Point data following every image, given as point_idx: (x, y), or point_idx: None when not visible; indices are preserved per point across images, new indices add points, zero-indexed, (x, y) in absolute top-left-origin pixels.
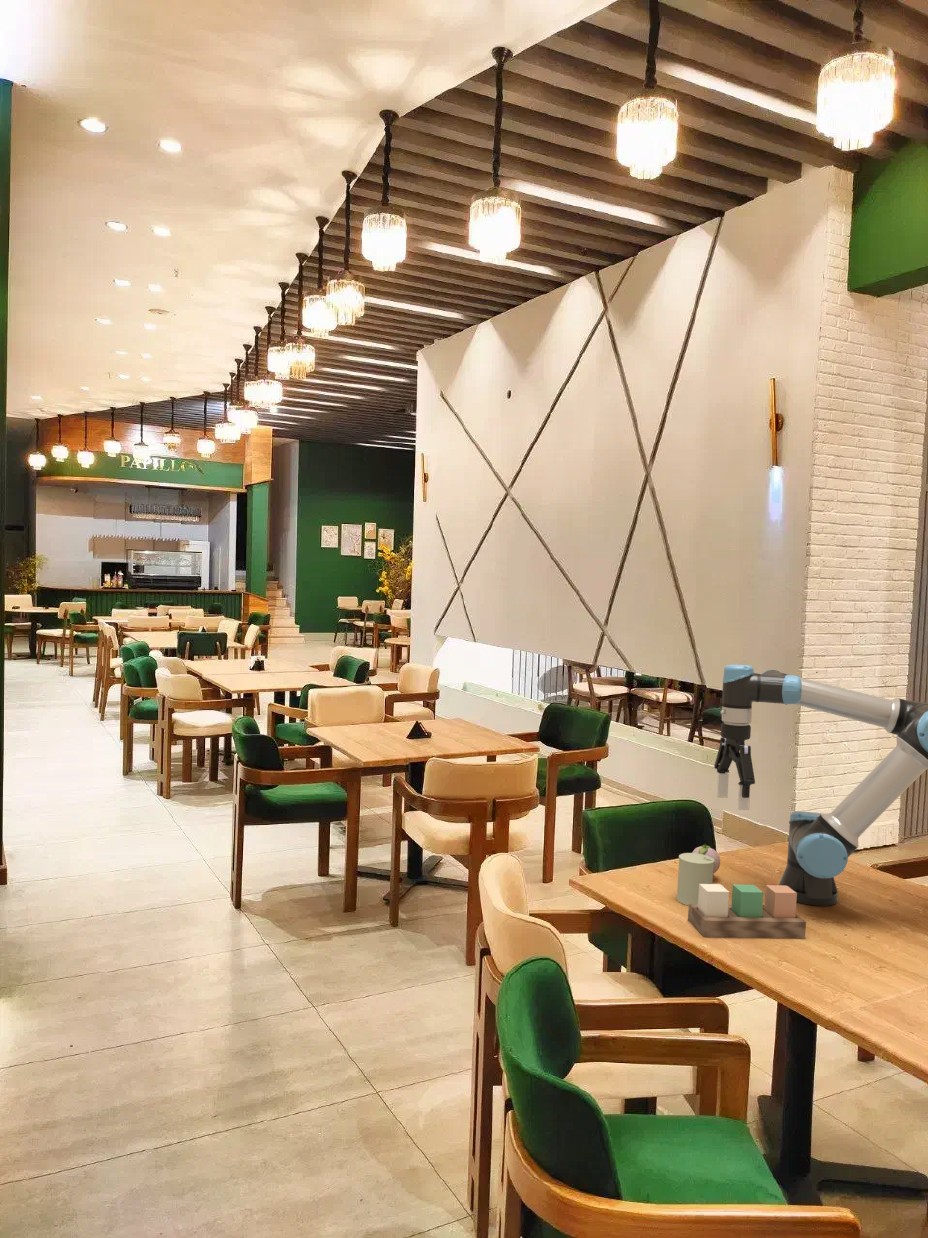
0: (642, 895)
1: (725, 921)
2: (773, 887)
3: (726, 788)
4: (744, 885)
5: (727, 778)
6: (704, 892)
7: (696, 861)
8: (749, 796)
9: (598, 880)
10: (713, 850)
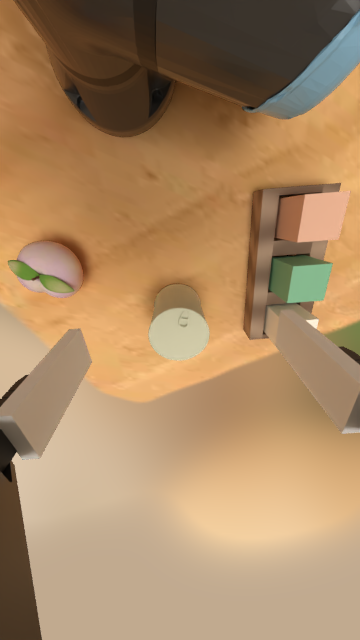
0: (165, 360)
1: (311, 311)
2: (312, 231)
3: (64, 358)
4: (294, 284)
5: (34, 395)
6: None
7: (197, 340)
8: (328, 340)
9: (121, 394)
10: (43, 261)
